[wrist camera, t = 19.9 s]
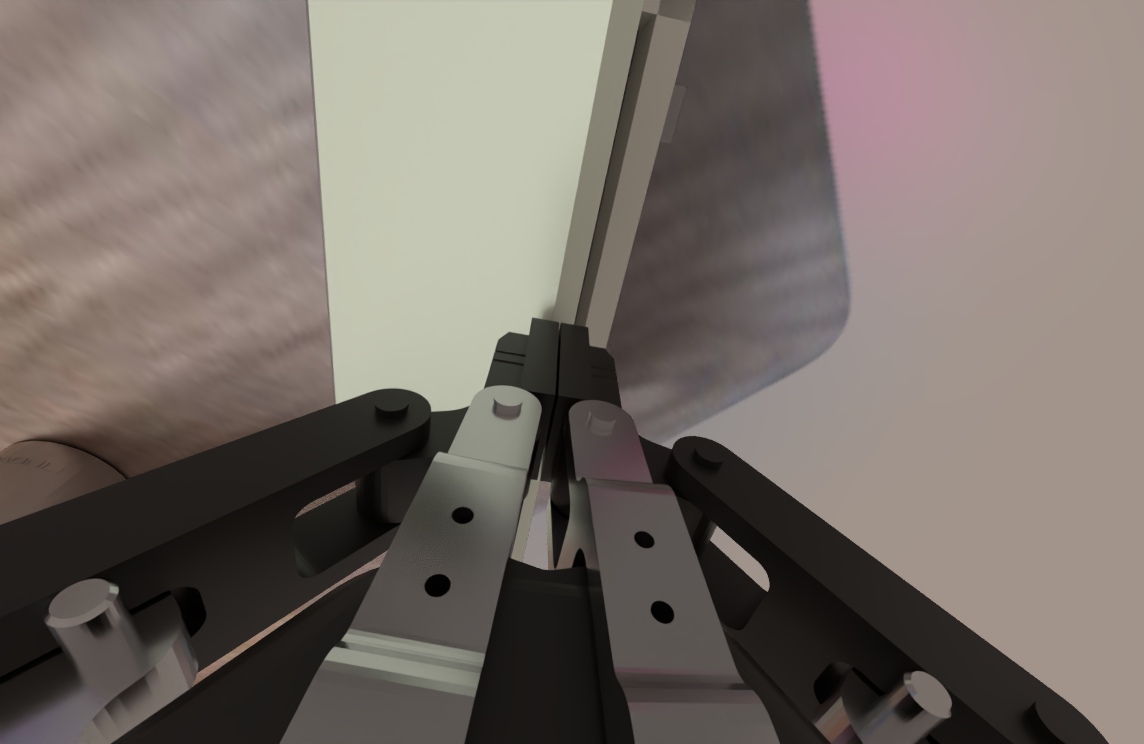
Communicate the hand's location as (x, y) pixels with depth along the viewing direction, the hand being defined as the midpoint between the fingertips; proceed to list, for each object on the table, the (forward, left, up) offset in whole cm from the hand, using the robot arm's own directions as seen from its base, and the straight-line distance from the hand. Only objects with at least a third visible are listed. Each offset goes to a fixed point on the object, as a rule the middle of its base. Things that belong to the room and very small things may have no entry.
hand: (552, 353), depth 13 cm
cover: (0, +4, -5) cm, 6 cm away
